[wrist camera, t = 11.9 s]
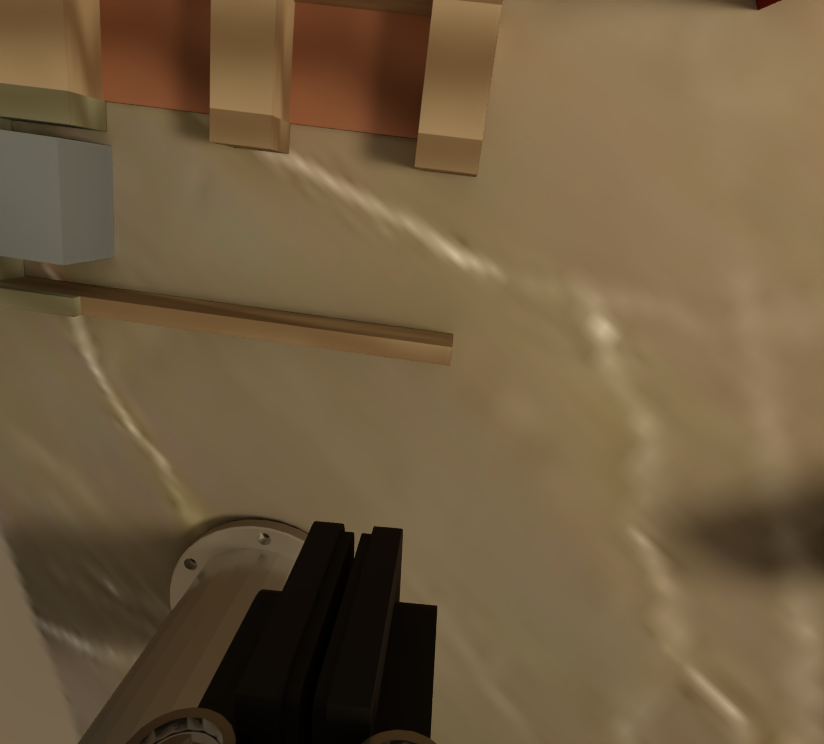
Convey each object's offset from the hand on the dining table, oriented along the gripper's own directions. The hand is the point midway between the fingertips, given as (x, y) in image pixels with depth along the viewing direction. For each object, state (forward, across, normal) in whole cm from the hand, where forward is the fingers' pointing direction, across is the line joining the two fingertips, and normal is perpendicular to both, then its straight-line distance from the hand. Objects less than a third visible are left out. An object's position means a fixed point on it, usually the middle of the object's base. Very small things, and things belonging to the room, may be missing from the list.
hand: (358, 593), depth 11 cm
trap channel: (+22, +11, -9) cm, 27 cm away
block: (+23, +21, -7) cm, 31 cm away
